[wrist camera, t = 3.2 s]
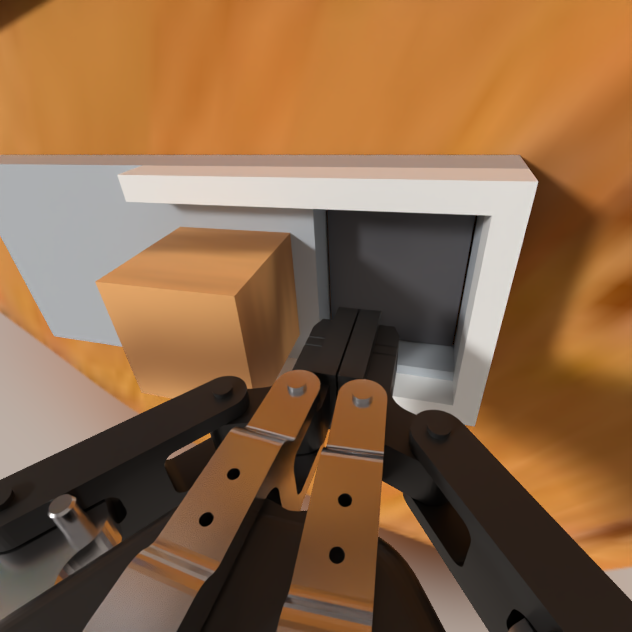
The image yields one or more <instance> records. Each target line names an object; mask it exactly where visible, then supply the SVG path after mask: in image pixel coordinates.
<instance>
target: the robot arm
mask: <svg viewBox="0 0 632 632" xmlns="http://www.w3.org/2000/svg"><path fill="white" fill-rule="evenodd" d="M381 324H382V311H378V310H368V309H358V308H348V307H339V308H338V310H337V312H336V314H335V317H334V319H333V320H330V319H322V320H321V321H320V322H318V323H317V324H316V325H315V326H314V327H313V329H312V331H311V333H310V335H309V337H308V339H307V341H306V343H305V345H304V347H303V349H302V351H301V353H300V355H299V357H298V359H297V361H296V363H295V365H294V367H293V369H292V371H289V372H286V373H284V374H282V375H281V376H280V377H279V378H277V380H276V381H275V383H274V384H273V386H269V387H263V388H252V389H247V386H246V383H245V382H244V381H243V380H242V379H241V378H239V377H236V376H222V377H218V378H216V379H213V380H211V381H209V382H207V383H205V384H203V385H200V386H198V387H196V388H194V389H192V390H190V391H188V392H186V393H184V394H181V395H179V396H177V397H175V398H173V399H171V400H169V401H167V402H164V403H162V404H160V405H158V406H156V407H154V408H152V409H150V410H148V411H145V412H143V413H141V414H139V415H137V416H135V417H133V418H131V419H129V420H126V421H124V422H122V423H120V424H118V425H116V426H114V427H112V428H109V429H107V430H105V431H103V432H101V433H99V434H97V435H95V436H92V437H90V438H88V439H86V440H84V441H82V442H80V443H78V444H75V445H74V446H71V447H69V448H67V449H65V450H63V451H61V452H59V453H56V454H54V455H52V456H50V457H48V458H46V459H44V460H42V461H40V462H37V463H35V464H33V465H31V466H29V467H27V468H25V469H22V470H20V471H18V472H16V473H14V474H12V475H10V476H8V477H6V478H3V479H1V480H0V632H446V631H445V630H444V628H443V626H442V624H441V622H440V620H439V618H438V616H437V614H436V612H435V610H434V609H433V607H432V605H431V603H430V601H429V599H428V597H427V595H426V593H425V592H424V590H423V588H422V586H421V584H420V582H419V580H418V579H417V577H416V575H415V573H414V572H413V570H412V569H411V568H410V566H409V565H408V563H407V562H406V561H405V560H404V558H403V557H402V556H401V555H400V554H399V553H398V552H397V551H396V550H395V549H394V548H393V547H392V546H391V545H390V544H388V543H387V542H385V541H384V540H383V539H381V538H380V537H378V531H379V516H380V501H381V486H382V481H384V482H385V483H387V484H389V485H391V486H393V487H394V488H396V489H398V490H400V491H401V492H403V496H404V499H405V501H406V503H407V505H408V506H409V508H410V509H411V511H412V512H413V514H414V515H415V517H416V519H417V520H418V522H419V523H420V525H421V526H422V528H423V529H424V531H425V533H426V534H427V536H428V537H429V539H430V540H431V542H432V543H433V545H434V547H435V548H436V550H437V551H438V553H439V554H440V556H441V557H442V559H443V560H444V562H445V564H446V565H447V567H448V568H449V570H450V571H451V573H452V574H453V576H454V578H455V579H456V581H457V582H458V584H459V585H460V587H461V588H462V590H463V592H464V593H465V595H466V596H467V598H468V599H469V601H470V603H471V604H472V606H473V607H474V609H475V610H476V612H477V613H478V615H479V617H480V618H481V620H482V621H483V623H484V624H485V626H486V628H487V629H488V631H489V632H632V601H631V600H630V599H629V598H628V597H627V596H626V595H625V594H624V592H623V591H622V590H621V589H620V588H619V587H618V586H617V585H616V584H615V583H614V582H613V581H612V580H611V579H610V578H609V577H608V576H607V575H606V574H605V572H604V571H603V570H602V569H601V568H600V567H599V566H598V565H597V564H596V563H595V562H594V561H593V560H592V559H591V558H590V557H589V556H588V555H587V554H586V552H585V551H584V550H583V549H582V548H581V547H580V546H579V545H578V544H577V543H576V542H575V541H574V540H573V539H572V538H571V537H570V536H569V535H568V534H567V533H566V531H565V530H564V529H563V528H562V527H561V526H560V525H559V524H558V523H557V522H556V521H555V520H554V519H553V518H552V517H551V516H550V515H549V514H548V513H547V511H546V510H545V509H544V508H543V507H542V506H541V505H540V504H539V503H538V502H537V501H536V500H535V499H534V498H533V497H532V496H531V495H530V494H529V493H528V491H527V490H526V489H525V488H524V487H523V486H522V485H521V484H520V483H519V482H518V481H517V480H516V479H515V478H514V477H513V476H512V475H511V474H510V473H509V471H508V470H507V469H506V468H505V467H504V466H503V465H502V464H501V463H500V462H499V461H498V460H497V459H496V458H495V457H494V456H493V455H492V454H491V453H490V452H489V450H488V449H487V448H486V447H485V446H484V445H483V444H482V443H481V442H480V441H479V440H478V439H477V438H476V437H475V436H474V435H473V434H472V433H471V432H470V430H469V429H468V428H467V427H466V426H465V425H464V424H463V423H462V422H461V421H460V420H459V419H458V418H456V417H455V416H453V415H452V414H450V413H447V412H445V411H441V410H425V411H422V412H420V413H418V414H417V415H416V414H414V413H411V412H409V411H407V410H405V409H404V408H402V407H401V406H399V405H398V404H397V403H396V402H395V400H394V399H393V390H394V384H395V378H396V372H397V361H398V348H399V334H398V332H397V330H396V328H395V327H394V326H385V325H381ZM328 429H330V433H329V438H328V442H327V446H326V448H325V447H324V441H325V438H326V435H327V432H328ZM208 433H210V434H211V438H209V439H207V440H205V441H204V442H202V443H200V444H198V445H196V446H195V447H193V448H191V449H189V450H187V451H185V452H184V453H182V454H180V455H178V456H176V457H174V458H172V459H170V460H166V459H167V458H168V456H169V455H171V454H172V453H173V452H175V451H177V450H179V449H181V448H182V447H184V446H186V445H188V444H190V443H192V442H194V441H195V440H197V439H199V438H201V437H203V436H205V435H207V434H208ZM317 466H318V467H317ZM316 468H317V471H316ZM315 471H316V476H315V480H314V484H313V489H312V493H311V498H310V502H309V507H308V511H301V507H302V503H303V500H304V498H305V495H306V493H307V490H308V488H309V486H310V483H311V481H312V478H313V476H314V473H315Z"/></svg>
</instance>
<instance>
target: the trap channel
mask: <svg viewBox="0 0 632 632" xmlns="http://www.w3.org/2000/svg"><path fill="white" fill-rule="evenodd" d="M537 185H538V180H537V179H536V178H535V176H534V175H533V173H532V172H531V171H530V169H529V168H528V166H527V165H526V164H525V162H524V161H523V159H522V158H521V157H520V155H0V236H1V238H2V240H3V242H4V244H5V245H6V247H7V249H8V251H9V253H10V255H11V257H12V259H13V260H14V262H15V264H16V266H17V268H18V270H19V272H20V273H21V275H22V277H23V279H24V281H25V283H26V285H27V287H28V288H29V290H30V292H31V294H32V296H33V298H34V300H35V301H36V303H37V305H38V307H39V309H40V311H41V313H42V314H43V316H44V318H45V320H46V322H47V324H48V326H49V328H50V329H51V331H52V333H53V335H54V336H57V337H63V338H70V339H76V340H83V341H89V342H96V343H102V344H109V345H115V346H122V344H121V342H120V340H119V337H118V335H117V333H116V330H115V328H114V326H113V323H112V321H111V318H110V316H109V314H108V311H107V309H106V307H105V304H104V302H103V299H102V297H101V295H100V292H99V290H98V288H97V285H96V283H95V281H97V280H99V279H100V278H102V277H103V276H105V275H106V274H108V273H109V272H111V271H112V270H114V269H116V268H117V267H119V266H120V265H122V264H123V263H125V262H126V261H128V260H129V259H131V258H133V257H134V256H136V255H137V254H139V253H140V252H142V251H143V250H145V249H146V248H148V247H150V246H151V245H153V244H154V243H156V242H157V241H159V240H160V239H162V238H164V237H165V236H167V235H168V234H170V233H171V232H173V231H174V230H176V229H177V228H179V227H194V228H213V229H231V230H249V231H267V232H285V233H290V237H291V247H292V258H293V268H294V279H295V289H296V300H297V310H298V321H299V331H300V335H299V337H298V339H297V341H296V343H295V345H294V347H293V348H292V350H291V352H290V354H289V356H288V358H287V360H286V362H285V364H284V366H283V368H282V369H281V371H280V373H279V375H278V377H277V378H279V377H280V376H281V375H282V374H284V373H286V372H289V371H292V369H293V367H294V365H295V363H296V361H297V359H298V357H299V355H300V353H301V351H302V349H303V347H304V345H305V343H306V341H307V339H308V337H309V335H310V333H311V331H312V329H313V327H314V326H315V325H316V324H317V323H318V322H320V321H321V320H322V319H330V320H333V319H334V317H335V314H336V312H337V310H338V308H339V307H348V308H358V309H368V310H378V311H382V324H381V325H385V326H394V327H395V328H396V330H397V332H398V334H399V348H398V361H397V372H396V378H395V384H394V390H393V399H394V400H395V402H396V403H397V404H398V405H399V406H401V407H402V408H404V409H405V410H407V411H409V412H411V413H414V414H416V415H417V414H418V413H420V412H422V411H425V410H441V411H445V412H447V413H450V414H452V415H453V416H455V417H456V418H458V419H459V420H460V421H461V422H462V423H463V424H464V425H469V426H475V423H476V420H477V416H478V412H479V408H480V404H481V400H482V397H483V393H484V389H485V385H486V381H487V377H488V373H489V370H490V366H491V362H492V358H493V354H494V350H495V347H496V343H497V339H498V335H499V331H500V327H501V323H502V320H503V316H504V312H505V308H506V304H507V300H508V297H509V293H510V289H511V285H512V281H513V277H514V273H515V270H516V266H517V262H518V258H519V254H520V250H521V247H522V243H523V239H524V235H525V231H526V227H527V223H528V220H529V216H530V212H531V208H532V204H533V200H534V197H535V193H536V189H537ZM327 214H328V225H327ZM476 215H477V220H476V226H475V231H474V237H473V242H472V248H471V253H470V258H469V264H468V269H467V275H466V280H465V286H464V291H463V297H462V302H461V308H460V313H459V319H458V324H457V329H456V335H455V340H454V345H452V343H453V338H454V332H455V326H456V321H457V315H458V310H459V304H460V299H461V293H462V288H463V282H464V277H465V271H466V265H467V260H468V254H469V249H470V243H471V238H472V232H473V227H474V221H475V216H476ZM328 241H329V251H328ZM329 267H330V278H329ZM330 294H331V304H330ZM276 380H277V379H276Z"/></svg>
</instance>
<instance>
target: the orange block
mask: <svg viewBox="0 0 632 632" xmlns="http://www.w3.org/2000/svg"><path fill="white" fill-rule="evenodd" d="M95 283H96V285H97V288H98V290H99V292H100V295H101V297H102V299H103V302H104V304H105V307H106V309H107V311H108V314H109V316H110V318H111V321H112V323H113V326H114V328H115V330H116V333H117V335H118V337H119V340H120V342H121V344H122V347H123V349H124V352H125V354H126V356H127V359H128V361H129V363H130V366H131V368H132V371H133V373H134V375H135V378H136V380H137V382H138V385H139V387H140V390H141V392H142V393H146V394H151V395H157V396H162V397H167V398H175V397H177V396H179V395H181V394H184V393H186V392H188V391H190V390H192V389H194V388H196V387H198V386H200V385H203V384H205V383H207V382H209V381H211V380H213V379H216V378H218V377H222V376H236V377H239V378H241V379H242V380H243V381H244V382H245V383H246V386H247V389H252V388H263V387H269V386H273V384H274V383H275V381H276V379H277V377H278V375H279V373H280V371H281V369H282V368H283V366H284V364H285V362H286V360H287V358H288V356H289V354H290V352H291V350H292V348H293V347H294V345H295V343H296V341H297V339H298V337H299V335H300V331H299V321H298V310H297V300H296V289H295V279H294V268H293V258H292V247H291V237H290V233H285V232H267V231H249V230H231V229H213V228H194V227H179V228H177V229H176V230H174V231H173V232H171V233H170V234H168V235H167V236H165V237H164V238H162V239H160V240H159V241H157V242H156V243H154V244H153V245H151V246H150V247H148V248H146V249H145V250H143V251H142V252H140V253H139V254H137V255H136V256H134V257H133V258H131V259H129V260H128V261H126V262H125V263H123V264H122V265H120V266H119V267H117V268H116V269H114V270H112V271H111V272H109V273H108V274H106V275H105V276H103V277H102V278H100V279H99V280H97V281H95Z"/></svg>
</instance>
